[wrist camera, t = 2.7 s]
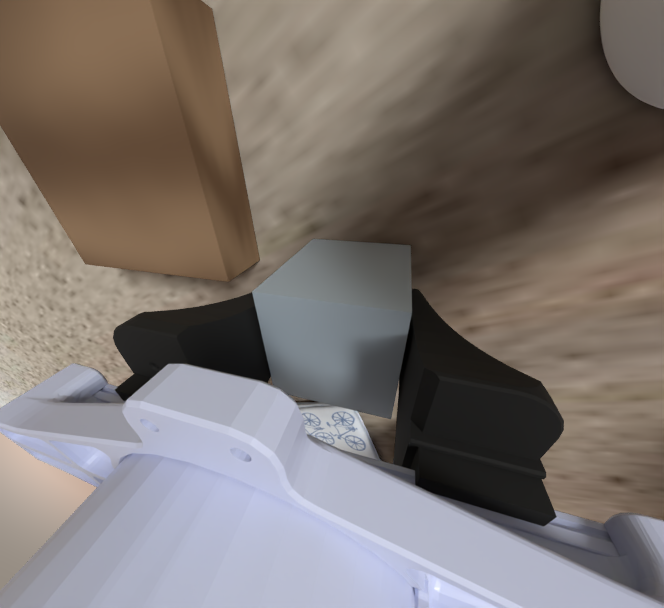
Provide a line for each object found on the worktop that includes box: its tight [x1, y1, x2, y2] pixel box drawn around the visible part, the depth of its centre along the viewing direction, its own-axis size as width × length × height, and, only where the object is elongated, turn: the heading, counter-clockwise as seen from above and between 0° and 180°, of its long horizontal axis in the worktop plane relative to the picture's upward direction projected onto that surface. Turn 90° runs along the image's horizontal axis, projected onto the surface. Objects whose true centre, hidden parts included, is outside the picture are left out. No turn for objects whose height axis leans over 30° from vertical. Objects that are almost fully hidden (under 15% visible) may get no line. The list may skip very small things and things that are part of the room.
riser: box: [0, 0, 260, 282], centre depth 11 cm, size 10×10×3 cm
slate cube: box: [252, 239, 412, 419], centre depth 11 cm, size 5×5×6 cm
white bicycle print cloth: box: [296, 402, 381, 461], centre depth 26 cm, size 19×20×2 cm
